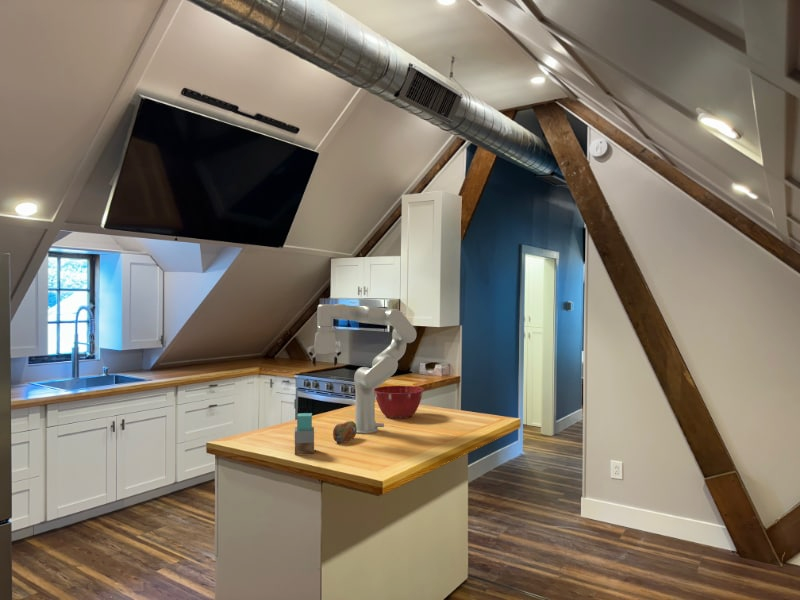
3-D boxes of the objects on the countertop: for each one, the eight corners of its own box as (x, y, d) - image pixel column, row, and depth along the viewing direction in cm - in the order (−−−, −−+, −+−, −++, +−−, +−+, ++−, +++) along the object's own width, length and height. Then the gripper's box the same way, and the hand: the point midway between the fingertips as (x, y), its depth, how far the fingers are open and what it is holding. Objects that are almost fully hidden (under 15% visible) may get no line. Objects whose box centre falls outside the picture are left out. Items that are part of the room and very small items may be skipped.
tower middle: (313, 438, 245) (313, 426, 245) (314, 442, 237) (314, 430, 237) (294, 438, 243) (295, 427, 243) (294, 443, 235) (294, 431, 235)
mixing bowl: (367, 420, 306) (367, 391, 306) (380, 410, 334) (380, 384, 334) (418, 422, 300) (418, 393, 300) (427, 412, 328) (427, 386, 328)
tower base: (313, 449, 245) (313, 438, 245) (314, 454, 237) (314, 442, 237) (294, 450, 243) (295, 438, 243) (294, 455, 235) (294, 443, 236)
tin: (337, 444, 253) (337, 425, 254) (331, 443, 255) (331, 424, 255) (357, 437, 266) (357, 420, 266) (351, 437, 268) (351, 419, 268)
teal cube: (311, 427, 244) (311, 413, 244) (311, 430, 238) (311, 415, 238) (297, 427, 243) (297, 413, 243) (297, 430, 237) (297, 416, 237)
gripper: (342, 329, 276) (342, 364, 276) (307, 329, 274) (306, 365, 274) (343, 330, 269) (343, 366, 269) (306, 330, 266) (306, 366, 266)
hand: (324, 365), depth 271 cm, fingers open, 9 cm apart
